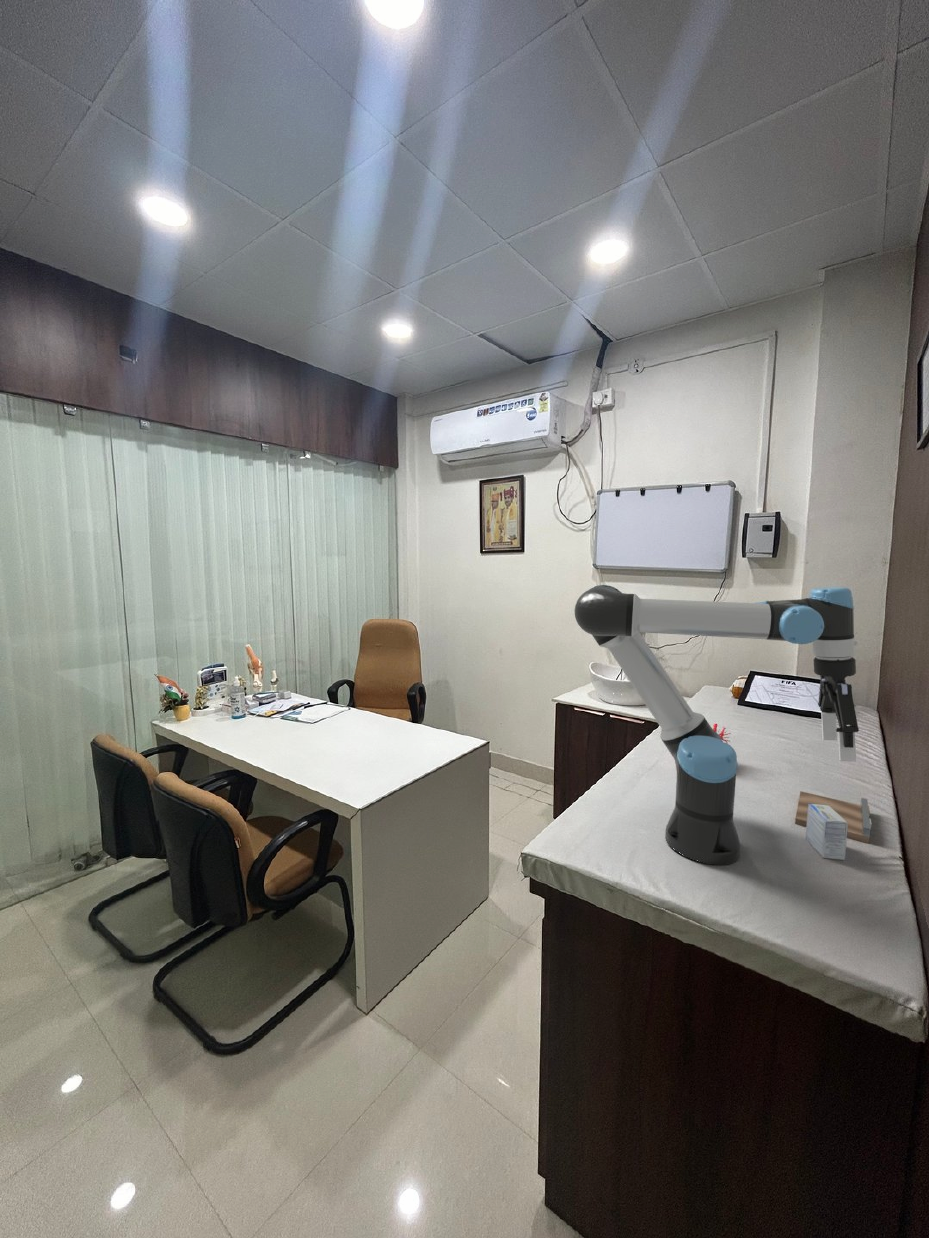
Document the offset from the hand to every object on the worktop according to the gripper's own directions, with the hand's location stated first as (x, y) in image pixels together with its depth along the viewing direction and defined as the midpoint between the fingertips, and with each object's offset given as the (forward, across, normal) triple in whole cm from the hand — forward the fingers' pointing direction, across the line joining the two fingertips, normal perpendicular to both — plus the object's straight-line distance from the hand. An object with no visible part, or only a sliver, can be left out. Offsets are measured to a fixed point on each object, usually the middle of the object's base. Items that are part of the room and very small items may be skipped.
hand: (838, 749), depth 112 cm
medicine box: (+21, -6, +5) cm, 22 cm away
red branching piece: (+19, +35, +25) cm, 47 cm away
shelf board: (+22, +11, 0) cm, 24 cm away
